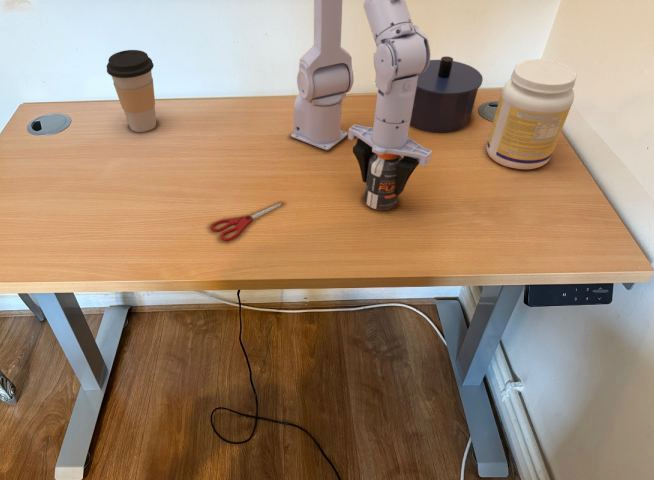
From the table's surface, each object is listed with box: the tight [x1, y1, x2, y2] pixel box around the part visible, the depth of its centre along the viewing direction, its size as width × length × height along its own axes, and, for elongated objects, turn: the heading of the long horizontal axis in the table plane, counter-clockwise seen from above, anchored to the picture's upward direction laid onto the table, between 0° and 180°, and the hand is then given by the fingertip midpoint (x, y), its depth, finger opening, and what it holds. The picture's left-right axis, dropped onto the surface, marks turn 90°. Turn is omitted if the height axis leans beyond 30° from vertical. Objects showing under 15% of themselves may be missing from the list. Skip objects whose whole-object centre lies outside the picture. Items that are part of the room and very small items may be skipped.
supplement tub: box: [485, 58, 578, 170], centre depth 100 cm, size 12×12×17 cm
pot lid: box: [416, 56, 484, 95], centre depth 110 cm, size 16×16×5 cm
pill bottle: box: [363, 153, 404, 211], centre depth 93 cm, size 6×6×11 cm
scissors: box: [210, 202, 282, 242], centre depth 94 cm, size 5×14×1 cm, turn 126°
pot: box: [410, 88, 479, 134], centre depth 115 cm, size 15×15×8 cm
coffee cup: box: [106, 49, 157, 133], centre depth 113 cm, size 9×9×15 cm
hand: (382, 185), depth 94 cm, fingers closed on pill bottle, 6 cm apart
